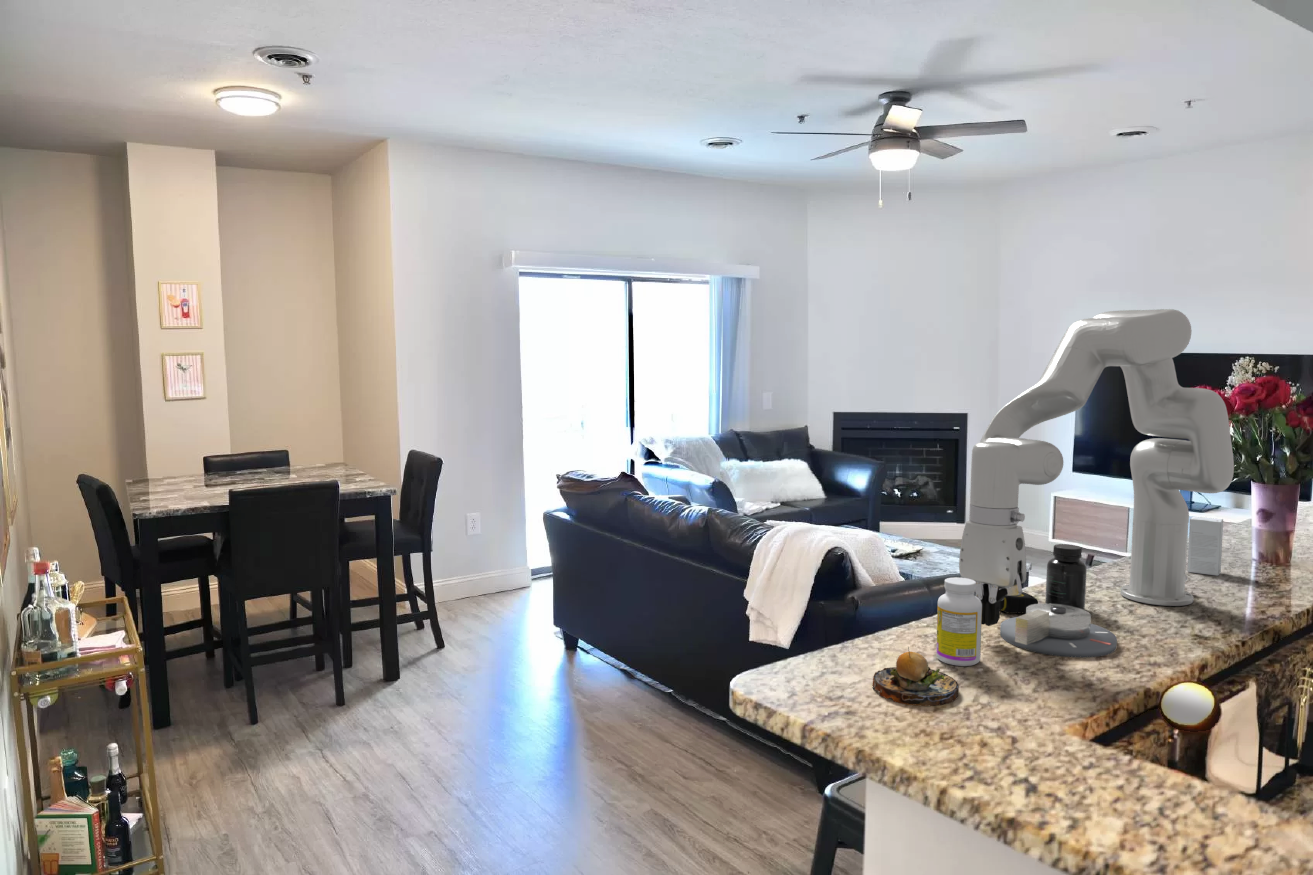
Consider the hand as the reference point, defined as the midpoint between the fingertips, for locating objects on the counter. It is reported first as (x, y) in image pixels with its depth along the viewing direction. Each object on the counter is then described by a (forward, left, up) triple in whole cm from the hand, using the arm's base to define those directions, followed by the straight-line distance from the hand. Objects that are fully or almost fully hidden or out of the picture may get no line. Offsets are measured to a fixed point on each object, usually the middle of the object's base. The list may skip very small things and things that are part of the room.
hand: (988, 623), depth 151 cm
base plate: (-10, +7, -3) cm, 12 cm away
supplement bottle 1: (+12, +2, -3) cm, 13 cm away
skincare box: (-80, +5, -3) cm, 80 cm away
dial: (-6, +7, -1) cm, 9 cm away
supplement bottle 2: (-29, -1, -3) cm, 29 cm away
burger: (+28, +5, -4) cm, 29 cm away
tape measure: (-20, -7, -3) cm, 22 cm away
